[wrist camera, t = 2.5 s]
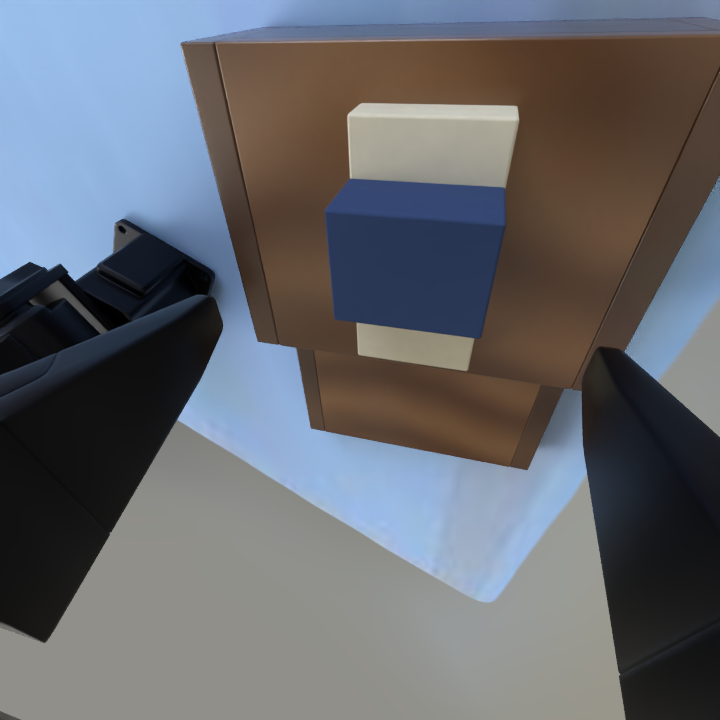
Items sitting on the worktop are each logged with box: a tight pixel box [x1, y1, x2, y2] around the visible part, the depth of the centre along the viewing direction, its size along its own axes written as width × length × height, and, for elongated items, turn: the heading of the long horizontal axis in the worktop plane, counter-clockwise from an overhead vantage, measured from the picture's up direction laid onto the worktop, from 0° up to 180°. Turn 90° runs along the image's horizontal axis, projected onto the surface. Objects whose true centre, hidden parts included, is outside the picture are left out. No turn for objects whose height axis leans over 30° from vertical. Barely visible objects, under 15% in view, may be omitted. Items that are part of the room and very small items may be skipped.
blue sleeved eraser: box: [325, 103, 519, 371], centre depth 13 cm, size 9×5×4 cm, turn 2°
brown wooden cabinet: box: [181, 17, 720, 470], centre depth 21 cm, size 24×16×6 cm, turn 2°
